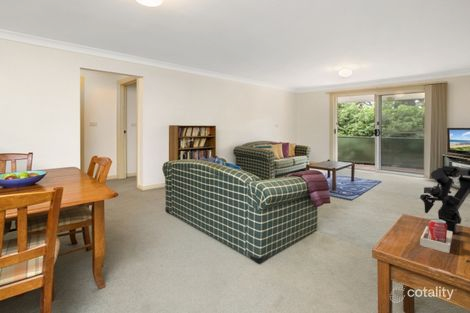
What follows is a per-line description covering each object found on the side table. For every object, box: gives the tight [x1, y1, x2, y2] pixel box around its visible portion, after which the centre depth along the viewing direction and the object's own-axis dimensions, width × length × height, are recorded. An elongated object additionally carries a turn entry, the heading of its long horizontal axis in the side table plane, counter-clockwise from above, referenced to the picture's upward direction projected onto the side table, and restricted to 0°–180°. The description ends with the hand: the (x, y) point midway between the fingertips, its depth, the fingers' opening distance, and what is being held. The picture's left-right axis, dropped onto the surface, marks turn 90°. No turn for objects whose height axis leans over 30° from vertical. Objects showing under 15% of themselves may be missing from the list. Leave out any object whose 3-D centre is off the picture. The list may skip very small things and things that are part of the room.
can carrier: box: [419, 225, 453, 254], centre depth 129 cm, size 21×11×4 cm, turn 137°
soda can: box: [428, 218, 447, 243], centre depth 125 cm, size 7×7×12 cm
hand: (433, 213), depth 134 cm, fingers open, 9 cm apart
